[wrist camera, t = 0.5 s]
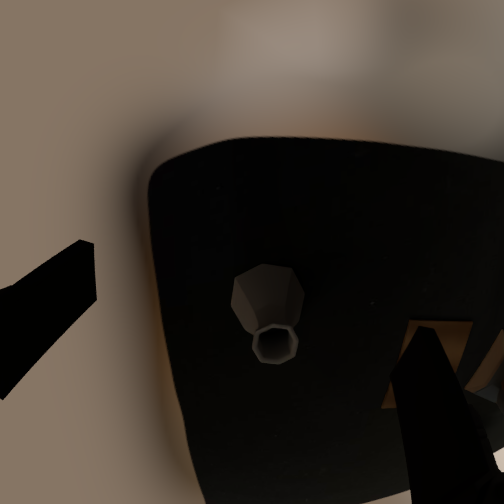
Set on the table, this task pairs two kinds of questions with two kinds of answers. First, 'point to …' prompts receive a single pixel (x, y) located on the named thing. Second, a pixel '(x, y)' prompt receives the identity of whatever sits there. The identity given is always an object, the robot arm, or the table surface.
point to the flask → (269, 310)
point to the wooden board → (450, 337)
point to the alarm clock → (490, 375)
